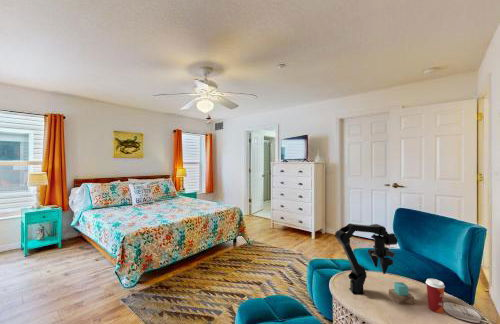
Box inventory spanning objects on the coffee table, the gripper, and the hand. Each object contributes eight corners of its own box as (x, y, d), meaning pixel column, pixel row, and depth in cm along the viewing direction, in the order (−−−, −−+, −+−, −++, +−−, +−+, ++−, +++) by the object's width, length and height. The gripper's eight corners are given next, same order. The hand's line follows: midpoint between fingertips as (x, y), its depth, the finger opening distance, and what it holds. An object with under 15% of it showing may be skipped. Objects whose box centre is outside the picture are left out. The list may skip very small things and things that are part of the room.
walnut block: (398, 304, 132) (398, 297, 132) (388, 295, 141) (388, 289, 141) (414, 304, 132) (414, 297, 132) (403, 295, 141) (403, 288, 141)
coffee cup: (446, 316, 121) (446, 287, 121) (426, 311, 125) (426, 283, 125) (444, 307, 128) (443, 280, 128) (425, 303, 132) (424, 276, 132)
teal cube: (399, 295, 134) (399, 286, 134) (394, 290, 139) (394, 282, 139) (408, 295, 134) (408, 286, 134) (403, 290, 139) (402, 282, 139)
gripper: (402, 250, 139) (402, 277, 138) (383, 240, 157) (384, 263, 157) (383, 250, 138) (383, 277, 138) (367, 240, 157) (367, 264, 157)
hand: (380, 270), depth 148 cm, fingers open, 9 cm apart
